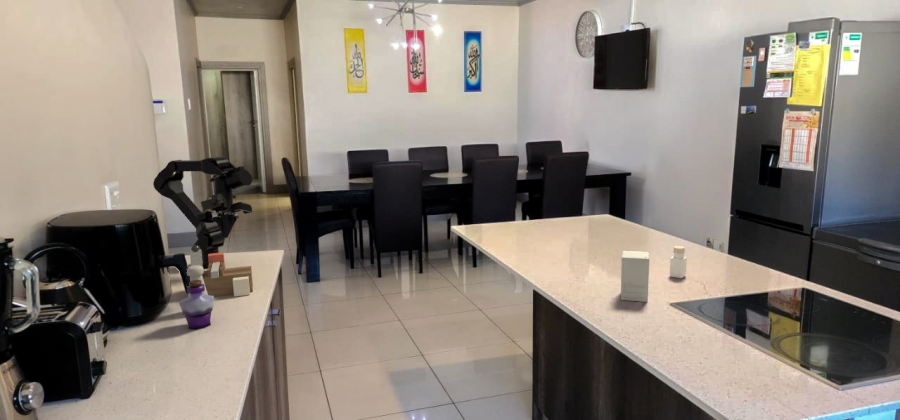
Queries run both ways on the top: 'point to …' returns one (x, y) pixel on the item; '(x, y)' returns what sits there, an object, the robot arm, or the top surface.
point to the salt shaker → (196, 275)
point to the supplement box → (635, 276)
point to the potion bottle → (197, 306)
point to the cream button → (241, 286)
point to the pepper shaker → (678, 263)
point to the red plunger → (216, 263)
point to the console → (225, 279)
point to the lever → (196, 256)
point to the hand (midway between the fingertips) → (225, 237)
